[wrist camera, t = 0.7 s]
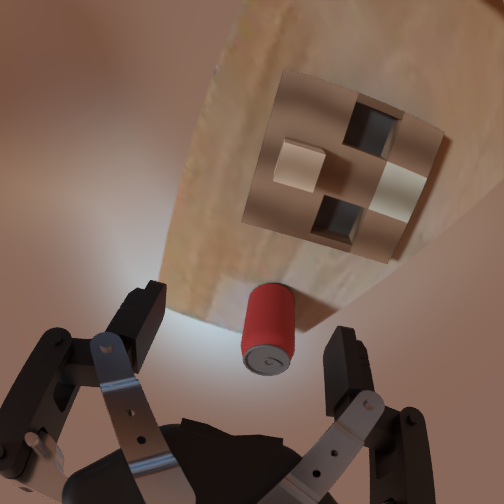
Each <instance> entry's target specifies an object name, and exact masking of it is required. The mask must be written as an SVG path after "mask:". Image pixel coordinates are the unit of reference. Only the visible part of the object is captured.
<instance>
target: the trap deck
mask: <svg viewBox="0 0 504 504" xmlns="http://www.w3.org/2000/svg"><path fill="white" fill-rule="evenodd" d="M444 133H445V132H444V131H442V130H440V129H438V128H437V127H435V126H433V125H431V124H429V123H427V122H425V121H423V120H421V119H419V118H417V117H414V116H412V115H410V114H408V113H406V112H404V111H402V110H399V109H397V108H395V107H393V106H390V105H388V104H386V103H383V102H381V101H379V100H376V99H374V98H371V97H369V96H366V95H364V94H361V93H358V92H356V91H353V90H350V89H348V88H345V87H342V86H339V85H336V84H334V83H331V82H328V81H325V80H322V79H318V78H315V77H312V76H309V75H306V74H302V73H299V72H295V71H292V70H288V69H283V73H282V76H281V80H280V83H279V87H278V90H277V94H276V97H275V101H274V104H273V108H272V111H271V115H270V119H269V122H268V126H267V129H266V133H265V136H264V140H263V144H262V147H261V151H260V155H259V158H258V162H257V166H256V169H255V173H254V177H253V180H252V184H251V188H250V191H249V195H248V199H247V202H246V206H245V210H244V214H243V217H242V221H241V222H243V223H246V224H250V225H254V226H257V227H261V228H265V229H268V230H272V231H275V232H279V233H282V234H286V235H290V236H293V237H297V238H300V239H304V240H307V241H311V242H314V243H318V244H321V245H325V246H328V247H332V248H335V249H338V250H342V251H345V252H349V253H352V254H355V255H359V256H362V257H365V258H369V259H372V260H375V261H379V262H382V263H385V264H388V262H389V260H390V258H391V256H392V254H393V252H394V250H395V248H396V246H397V244H398V242H399V240H400V238H401V236H402V234H403V232H404V230H405V228H406V225H407V223H408V221H409V219H410V217H411V215H412V212H413V210H414V208H415V206H416V203H417V201H418V199H419V197H420V194H421V192H422V190H423V187H424V185H425V182H426V180H427V178H428V175H429V173H430V170H431V168H432V165H433V163H434V160H435V157H436V155H437V152H438V149H439V147H440V144H441V141H442V138H443V136H444ZM285 136H287V137H291V138H294V139H297V140H301V141H304V142H307V143H310V144H314V145H317V146H320V147H322V149H323V151H324V153H325V154H326V156H325V159H324V162H323V165H322V168H321V171H320V173H319V176H318V179H317V182H316V185H315V188H314V191H313V193H312V192H308V191H305V190H302V189H298V188H295V187H292V186H288V185H285V184H281V183H278V182H274V181H273V178H274V170H275V167H276V164H277V160H278V157H279V154H280V150H281V147H282V143H283V140H284V137H285Z"/></svg>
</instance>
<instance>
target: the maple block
mask: <svg viewBox="0 0 504 504" xmlns="http://www.w3.org/2000/svg"><path fill="white" fill-rule="evenodd" d="M325 156H326V154H325V153H324V151H323V149H322V147H320V146H317V145H314V144H310V143H307V142H304V141H301V140H297V139H294V138H291V137H287V136H285V137H284V140H283V143H282V147H281V150H280V154H279V157H278V160H277V164H276V167H275V170H274V178H273V181H274V182H278V183H281V184H285V185H288V186H292V187H295V188H298V189H302V190H305V191H308V192H312V193H313V191H314V188H315V185H316V182H317V179H318V176H319V173H320V171H321V168H322V165H323V162H324V159H325Z"/></svg>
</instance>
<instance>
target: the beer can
mask: <svg viewBox="0 0 504 504" xmlns="http://www.w3.org/2000/svg"><path fill="white" fill-rule="evenodd" d="M241 350H242V355H243V363H244V365H245V366H246V368H247V369H249V370H250V371H251V372H253V373H256V374H258V375H263V376H273V375H278V374H280V373H282V372H284V371H285V370H286V369H288V367H289V365H290V361H291V359H292V357H293V355H294V351H295V313H294V297H293V295H292V293H291V292H290V291H289V290H288V289H287V288H286V287H284V286H282V285H279V284H275V283H266V284H263V285H260V286H258V287H257V288H255V289H254V290H253V291H252V293H251V294H250V297H249V301H248V306H247V312H246V318H245V324H244V329H243V335H242V341H241Z"/></svg>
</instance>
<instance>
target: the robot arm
mask: <svg viewBox="0 0 504 504" xmlns="http://www.w3.org/2000/svg"><path fill="white" fill-rule="evenodd" d="M166 289H167V285H166V284H164V283H161V282H157V281H153V280H150V281H149V283H148V284H147V286H146V288H145V289H140V288H136V289H134V290H133V291H131V292H130V293H129V294H128V295H127V297H126V299H125V300H124V303H122V305H121V306H120V309H119V310H118V311H117V313H116V314H115V316H114V318H113V319H112V321H111V322H110V324H109V326H108V327H107V329H106V331H105V332H102V333H99V334H97V335H95V336H94V337H93V338H92V339H79V338H72V337H71V334H70V333H69V332H68V331H67V330H66V329H63V328H58V327H56V328H52V329H49V330H47V331H46V332H45V333H44V334H43V335H42V337H41V338H40V340H39V342H38V343H37V345H36V346H35V348H34V350H33V351H32V353H31V355H30V356H29V358H28V360H27V361H26V363H25V365H24V366H23V368H22V370H21V371H20V373H19V375H18V377H17V378H16V380H15V382H14V384H13V385H12V387H11V389H10V391H9V393H8V395H7V397H6V399H5V400H4V402H3V404H2V406H1V408H0V475H1V476H2V477H3V478H5V479H6V480H8V481H9V482H11V483H12V484H13V485H15V486H18V487H19V488H21V489H22V490H24V491H27V492H36V493H38V494H40V495H42V496H44V497H46V498H48V499H50V500H52V501H54V502H56V503H59V504H338V503H337V502H336V501H335V500H334V498H333V497H332V496H331V494H330V493H329V492H328V491H329V489H330V488H331V487H332V486H333V484H334V483H335V482H336V481H337V480H338V479H339V477H340V476H341V475H342V473H343V472H344V471H345V470H346V468H347V467H348V466H349V464H350V463H351V462H352V460H353V459H354V458H355V456H356V455H357V454H358V452H359V451H360V450H361V448H362V447H363V446H365V447H368V448H369V459H370V504H436V502H435V501H436V500H435V489H434V480H433V471H432V463H431V455H430V448H429V442H428V437H427V430H426V424H425V419H424V416H423V415H422V413H421V412H420V411H419V410H418V409H416V408H413V407H406V408H404V409H403V410H402V411H401V412H400V411H397V410H395V409H392V408H389V407H387V406H385V405H384V401H383V399H382V398H381V396H380V395H378V394H377V393H376V392H375V390H374V385H373V380H372V374H371V369H370V367H369V366H370V364H369V360H368V354H367V349H366V348H365V346H364V345H363V343H362V341H359V340H356V335H355V330H354V329H353V328H349V327H343V326H337V328H336V329H335V331H334V333H333V335H332V337H331V338H330V340H329V342H328V344H327V346H326V348H325V350H324V354H323V366H324V381H325V400H326V416H331V417H334V420H335V422H334V423H333V424H332V425H331V426H330V428H329V429H328V430H327V431H326V432H325V433H324V434H323V435H322V437H321V438H320V439H319V440H318V441H317V442H316V443H315V444H314V445H313V446H312V448H311V449H310V450H309V451H308V452H307V453H306V454H305V455H304V456H303V457H301V456H300V455H299V454H297V453H296V452H295V451H293V450H292V449H290V448H288V447H286V446H284V445H283V438H277V437H270V436H264V435H241V436H240V435H238V436H234V435H230V434H228V433H225V432H223V431H221V430H219V429H217V428H214V427H212V426H210V425H208V424H205V423H201V422H197V421H193V420H189V419H185V418H182V422H181V424H168V425H163V426H158V424H157V422H156V419H155V417H154V415H153V413H152V410H151V408H150V406H149V403H148V402H147V399H146V396H145V394H144V391H143V389H142V386H141V384H140V382H139V380H138V379H136V377H135V375H134V373H137V374H138V373H139V371H140V369H141V367H142V364H143V362H144V360H145V357H146V355H147V353H148V351H149V349H150V346H151V344H152V342H153V340H154V338H155V335H156V333H157V331H158V329H159V327H160V325H161V322H162V320H163V317H164V313H165V304H166ZM80 386H90V387H100V388H101V392H102V395H103V398H104V402H105V405H106V408H107V411H108V414H109V417H110V420H111V423H112V426H113V429H114V432H115V434H116V437H117V440H118V443H119V445H120V449H118V450H116V451H114V452H112V453H111V454H109V455H107V456H105V457H103V458H101V459H100V460H98V461H96V462H94V463H92V464H90V465H88V466H87V467H84V468H83V469H80V470H79V471H77V472H75V473H74V474H72V475H71V476H70V477H69V478H67V477H66V476H65V474H64V470H63V465H64V455H63V452H62V451H61V449H60V448H59V447H58V445H57V441H58V438H59V436H60V433H61V431H62V428H63V426H64V423H65V421H66V419H67V416H68V414H69V412H70V409H71V407H72V404H73V402H74V400H75V398H76V395H77V393H78V391H79V388H80Z"/></svg>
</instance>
